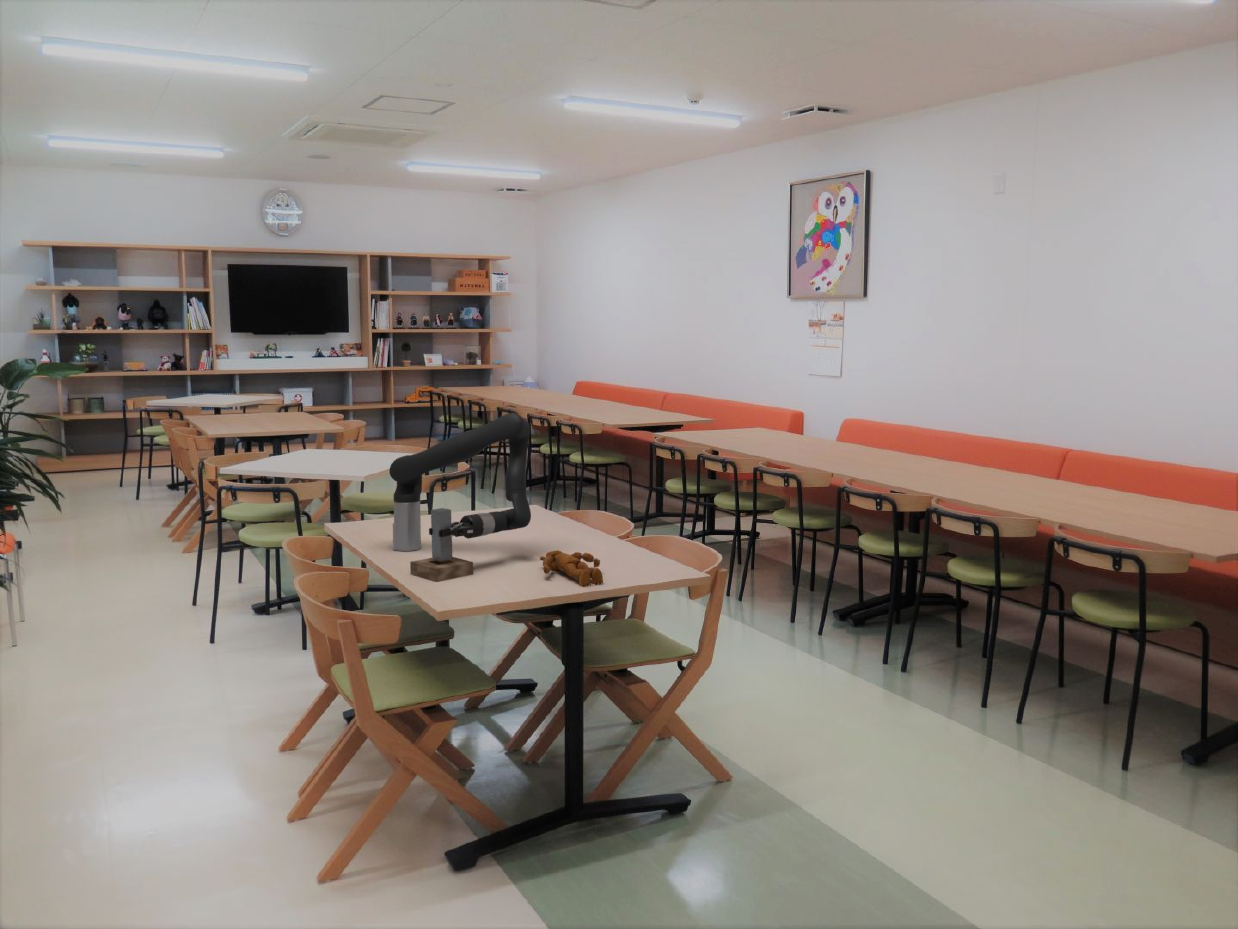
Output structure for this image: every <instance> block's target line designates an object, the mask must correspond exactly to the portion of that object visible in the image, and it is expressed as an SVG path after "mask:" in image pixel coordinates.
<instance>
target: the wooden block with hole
mask: <svg viewBox="0 0 1238 929" xmlns="http://www.w3.org/2000/svg"><path fill="white" fill-rule="evenodd" d="M409 563H410V566H409V567H410V568H409V569H410V571H409V572H410V575H411V576H415V577H419V578H422V579H426V580H429V581H433V582H436V583H437V582H442V581H448V580H451V579H452V580H453V579H456V578H461V577H462V578H463V577H467V576H471V575H474V562H473V561H470V560H467V559H463V558H459V557H456V556H452V560H447V561H442V562H440V561H436V560H432V557H430V558H424V559H423V558H422V559H419V560H412V561H410V562H409Z"/></svg>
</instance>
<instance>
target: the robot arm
mask: <svg viewBox="0 0 1238 929" xmlns="http://www.w3.org/2000/svg"><path fill="white" fill-rule="evenodd" d="M530 433H531V426H530V423H529V421H527V419H525V418H524V417H522V416H521V415H520V414H518V413H514V412H511V413H506V414H504V415H501V416H500V417H498V418H495V419H494V420H492V421H490V422H488V423H486V424H484V425H482V426H479V427H475V428H473V429H470V430H467V431H465V432H463V433H459V434H457V435H453V436H452V437H449V438H446V439H444V440H442V441H440V442H439V443H436V444H434V445H432V446H430V447H429V448H427V449H425V450H422V451H420V452H418V453H417V452H416V453H414V454H410V455H409V454H406V455H403V456H399V457H397V458H396V459H394V460H393V461H392V462H391V464H390V467H389V472H388V473H389V475H390V478H391V479H392V480H393V481H395V482H396V487H395V490H394V492H393V523H392V550H393V551H398V552H399V551H400V552H413V551H417V550H418V551H419V550H420V549H422V526H421V524H422V522H421V520H422V518H421V495H422V489H423V475H424V474H426V473H429V472H430V471H431V472H432V471H434V470H438V469H443V468H446V467H450V466H453V465H457V464H460V463H462V462H465V461H468V460H470V459H471V458H474V457H475V456H477V455H479V453H480V452H482V451H483V450H484V449H485V448H487V447H489V446H491V445H494V444H496V443H499V442H502V441H505V440H507V441H508V447H509V455H508V456H509V457H508V464H507V468H506V471H505V477H504V478H505V479H504V480H505V481H504V482H505V483H504V484H505V487H504V488H505V491H504V492H505V499H506V500H507V501H509V502H512V507H513V508H510V509H505V510H500V511H498V510H497V511H489V512H479V513H473V514H467V515H464V516H462V517H461V519H460V521H453V522H451V524H452V528H450V530H449V529H444V530H439V537H446V536H452V537H455V538H458V537H464V538H465V539H473V538H479V537H483V536H488V535H491V534H496V533H499V532H504V531H505V532H506V531H512V530H517V529H523V528H526V527H527V526H529V524H530V522H531V518H532V513H531V508H530V505H529V500H528V497H527V474H526V473H527V472H526V471H527V456H528V455H527V454H528V446H529V440H530V439H529V438H530ZM428 535H430V536H432V528H431V527H429V529H428Z"/></svg>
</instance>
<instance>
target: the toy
mask: <svg viewBox="0 0 1238 929" xmlns="http://www.w3.org/2000/svg"><path fill="white" fill-rule="evenodd" d="M539 560H540V561H542V566H543V570H542V571H543V573H544V574H545V575H547V574H550V571H561V572H563V573H565V574H567V576H569V577H570V578H573V579H574V580H576V581H578V586H579V587H580V586H583V585H584V586H583V587H587V586H588V585H590V586H591V585H592V584H596V585H597V584H598V583H604V577H603V574H602V571H601V569H600V568H599V566H600V565H601V559H599V558H595V557H594V555H592V554H591V553H587V552H584V553H581V552H580V551H579V552H577V551H576V552H574V553H572V554H568V553H566V552H562V551H561V550H551V551H549V552H546V554H545V556H540V557H539ZM587 563H593V567H592V566H589V565H588V564H587ZM598 585H599V584H598Z"/></svg>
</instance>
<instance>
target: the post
mask: <svg viewBox="0 0 1238 929" xmlns="http://www.w3.org/2000/svg"><path fill="white" fill-rule="evenodd" d="M451 523H452V509H450V508H444V507H441V508H435V509H430V524H431V525H430V526H431V527H430V528H432V535H431V552H432V553H431V556H432V557H431V558H432V560H436V561H440V562H442V561H447V560H452V557H453V536H446V537H439V530H444V529H449V530H450V528H452V524H451Z"/></svg>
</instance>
